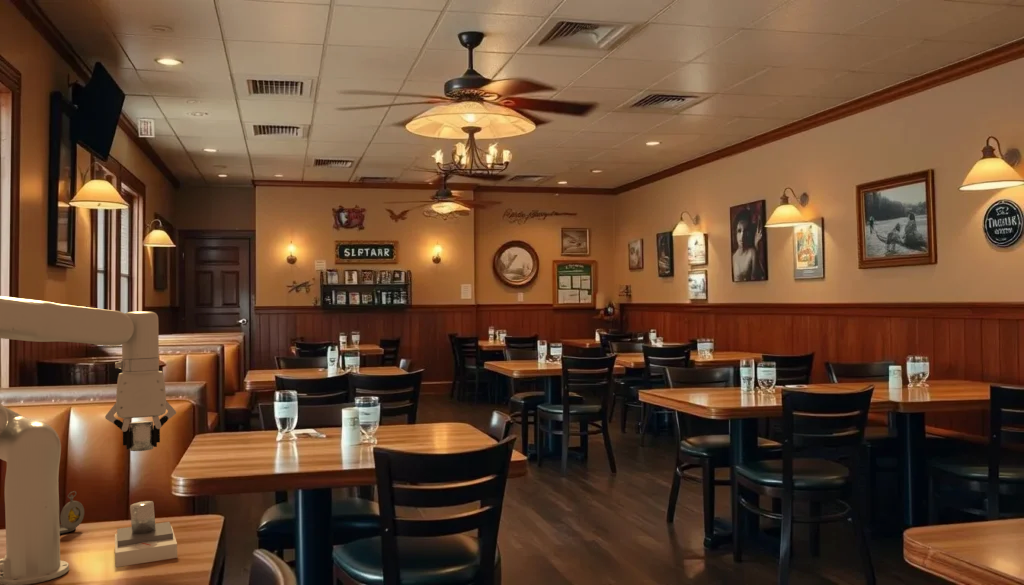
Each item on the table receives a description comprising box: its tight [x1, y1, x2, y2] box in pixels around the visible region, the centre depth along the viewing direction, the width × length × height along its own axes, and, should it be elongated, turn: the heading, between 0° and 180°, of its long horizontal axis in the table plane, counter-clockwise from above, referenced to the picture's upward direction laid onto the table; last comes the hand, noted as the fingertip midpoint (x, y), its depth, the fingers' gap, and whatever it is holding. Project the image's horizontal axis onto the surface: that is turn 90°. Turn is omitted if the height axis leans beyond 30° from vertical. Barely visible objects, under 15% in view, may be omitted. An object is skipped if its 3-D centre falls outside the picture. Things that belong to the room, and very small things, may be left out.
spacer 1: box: [129, 420, 154, 452], centre depth 182 cm, size 5×5×6 cm
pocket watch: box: [59, 490, 85, 535], centre depth 198 cm, size 8×8×10 cm
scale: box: [114, 521, 178, 568], centre depth 180 cm, size 12×16×4 cm
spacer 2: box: [129, 500, 156, 534], centre depth 181 cm, size 5×5×6 cm
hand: (141, 446), depth 182 cm, fingers closed on spacer 1, 4 cm apart
